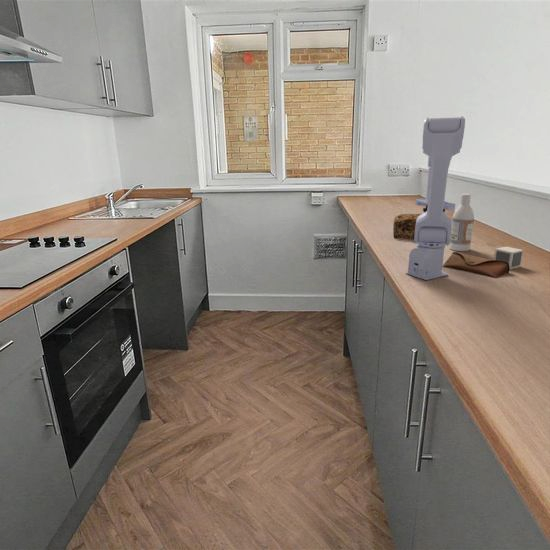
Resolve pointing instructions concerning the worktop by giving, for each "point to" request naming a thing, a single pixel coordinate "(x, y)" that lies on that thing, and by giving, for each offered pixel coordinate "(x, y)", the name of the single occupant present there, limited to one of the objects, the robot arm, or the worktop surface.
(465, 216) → the bath foam
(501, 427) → the worktop surface
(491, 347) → the worktop surface
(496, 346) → the worktop surface
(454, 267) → the sunglasses case
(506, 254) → the cube
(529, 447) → the worktop surface
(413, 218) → the bread
